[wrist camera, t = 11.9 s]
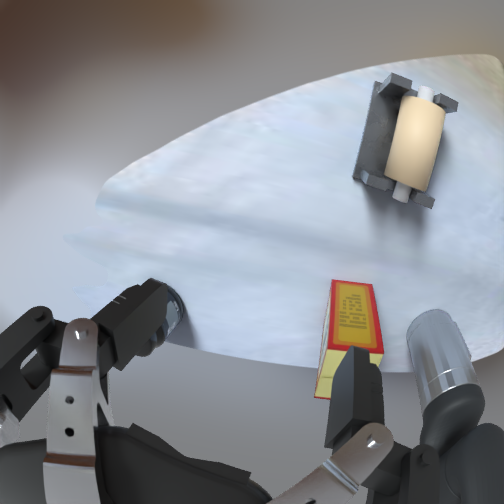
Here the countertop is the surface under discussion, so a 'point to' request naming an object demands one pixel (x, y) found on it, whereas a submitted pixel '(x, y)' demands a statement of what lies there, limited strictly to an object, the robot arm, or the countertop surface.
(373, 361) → the baking soda box
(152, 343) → the supplement container
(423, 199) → the roll holder
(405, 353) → the countertop surface
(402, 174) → the paper roll
